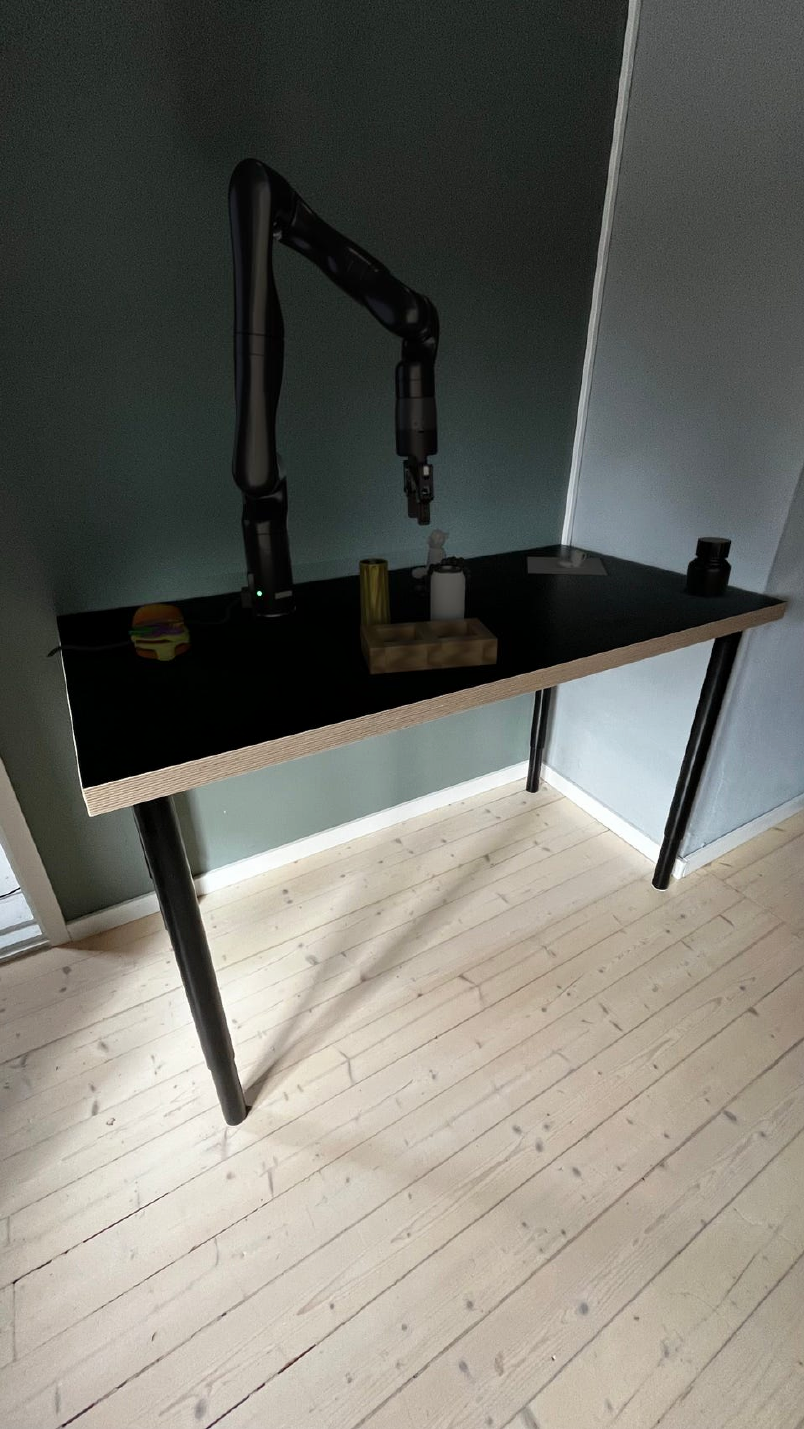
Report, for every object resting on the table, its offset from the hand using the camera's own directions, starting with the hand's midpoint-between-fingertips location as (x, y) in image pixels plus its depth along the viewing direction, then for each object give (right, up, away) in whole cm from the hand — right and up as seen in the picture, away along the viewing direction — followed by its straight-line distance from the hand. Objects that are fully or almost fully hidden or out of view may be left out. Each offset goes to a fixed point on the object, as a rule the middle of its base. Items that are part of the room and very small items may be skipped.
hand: (418, 521), depth 120 cm
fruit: (+6, -9, +29) cm, 31 cm away
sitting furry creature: (+5, -1, +44) cm, 45 cm away
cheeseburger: (-46, -25, -4) cm, 53 cm away
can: (+6, -20, +5) cm, 21 cm away
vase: (-8, -21, +3) cm, 23 cm away
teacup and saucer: (+41, +4, +54) cm, 68 cm away
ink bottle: (+66, -9, +27) cm, 72 cm away
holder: (+1, -26, -8) cm, 27 cm away
